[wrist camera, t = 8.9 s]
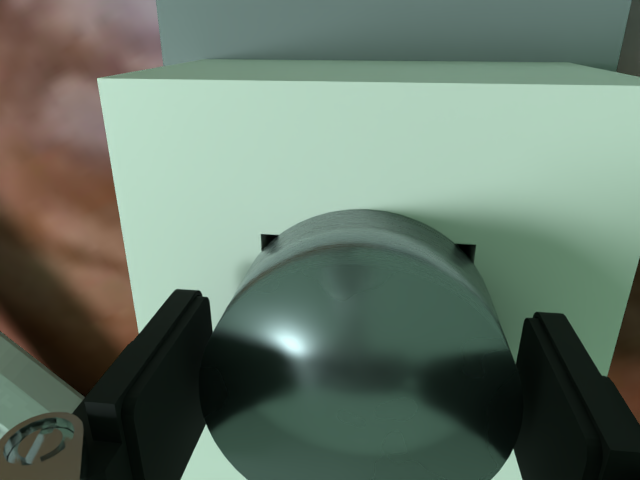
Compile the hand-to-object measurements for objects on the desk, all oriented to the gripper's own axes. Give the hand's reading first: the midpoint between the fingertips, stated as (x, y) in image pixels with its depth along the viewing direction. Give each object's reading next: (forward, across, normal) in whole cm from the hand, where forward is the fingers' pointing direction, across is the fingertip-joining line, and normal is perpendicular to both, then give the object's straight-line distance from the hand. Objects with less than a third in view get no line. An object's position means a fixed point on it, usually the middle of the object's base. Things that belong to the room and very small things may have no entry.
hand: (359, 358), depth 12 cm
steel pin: (+7, 0, 0) cm, 7 cm away
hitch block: (+9, 0, 0) cm, 9 cm away
